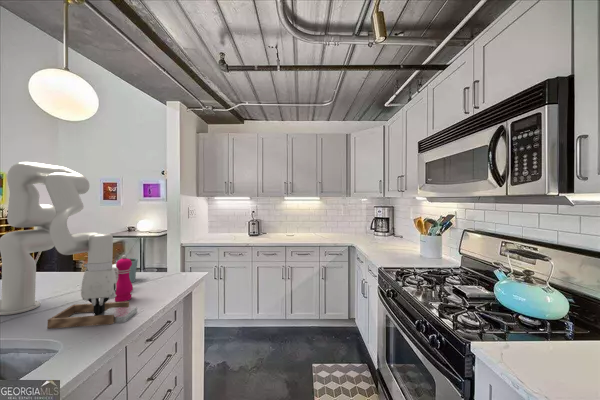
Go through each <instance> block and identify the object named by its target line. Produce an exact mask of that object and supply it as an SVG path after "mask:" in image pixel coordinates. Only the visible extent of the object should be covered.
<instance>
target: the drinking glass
mask: <svg viewBox="0 0 600 400" xmlns="http://www.w3.org/2000/svg"><path fill="white" fill-rule="evenodd" d="M120 259H121V258H120ZM120 259H117V260H116V261H115V264H116V263H117V261H118V260H120ZM128 259H130V260H131V261H132V266H131V267H130V272H129V278H130V281H131V283H132V284H133V283H134V282H136V278H137V277H136V276H137V275H136V274H137V268H138V261H139V260H138V258H135V257H134V258H133V257H128Z"/></svg>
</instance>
